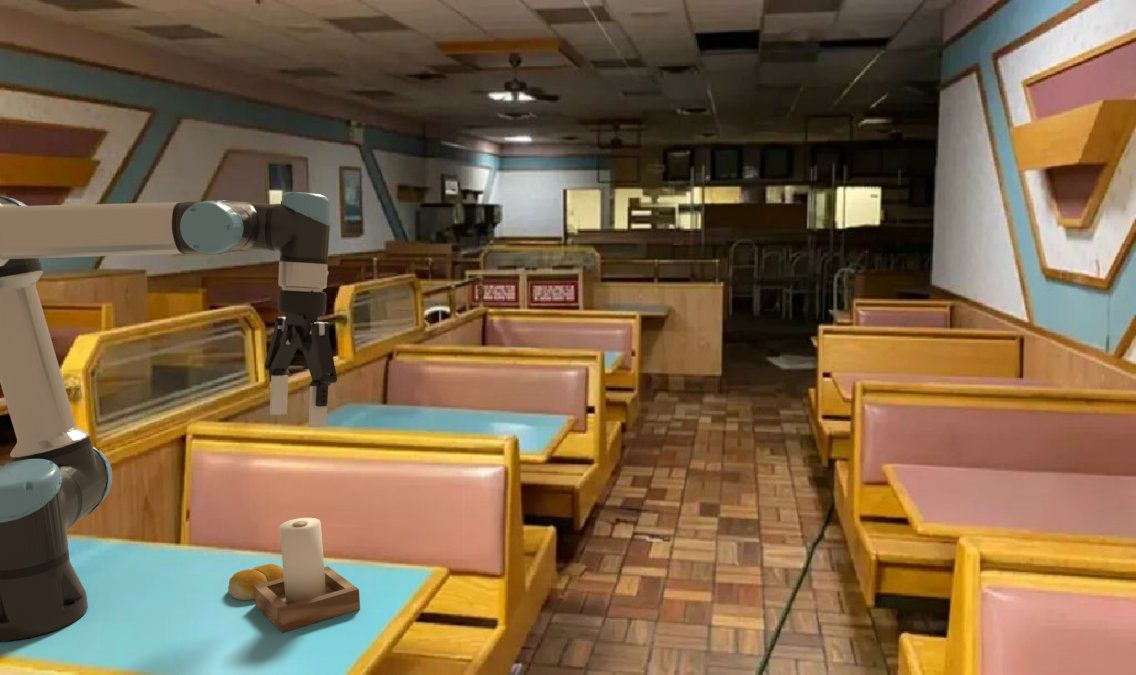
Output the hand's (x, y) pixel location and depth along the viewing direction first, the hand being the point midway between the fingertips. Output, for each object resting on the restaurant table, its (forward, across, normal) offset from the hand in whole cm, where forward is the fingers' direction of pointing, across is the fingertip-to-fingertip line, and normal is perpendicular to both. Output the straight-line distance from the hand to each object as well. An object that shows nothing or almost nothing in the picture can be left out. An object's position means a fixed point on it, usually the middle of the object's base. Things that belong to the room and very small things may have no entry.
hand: (297, 420), depth 151 cm
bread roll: (+28, +1, +5) cm, 28 cm away
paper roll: (+26, -11, +3) cm, 28 cm away
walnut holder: (+27, -12, +3) cm, 29 cm away
